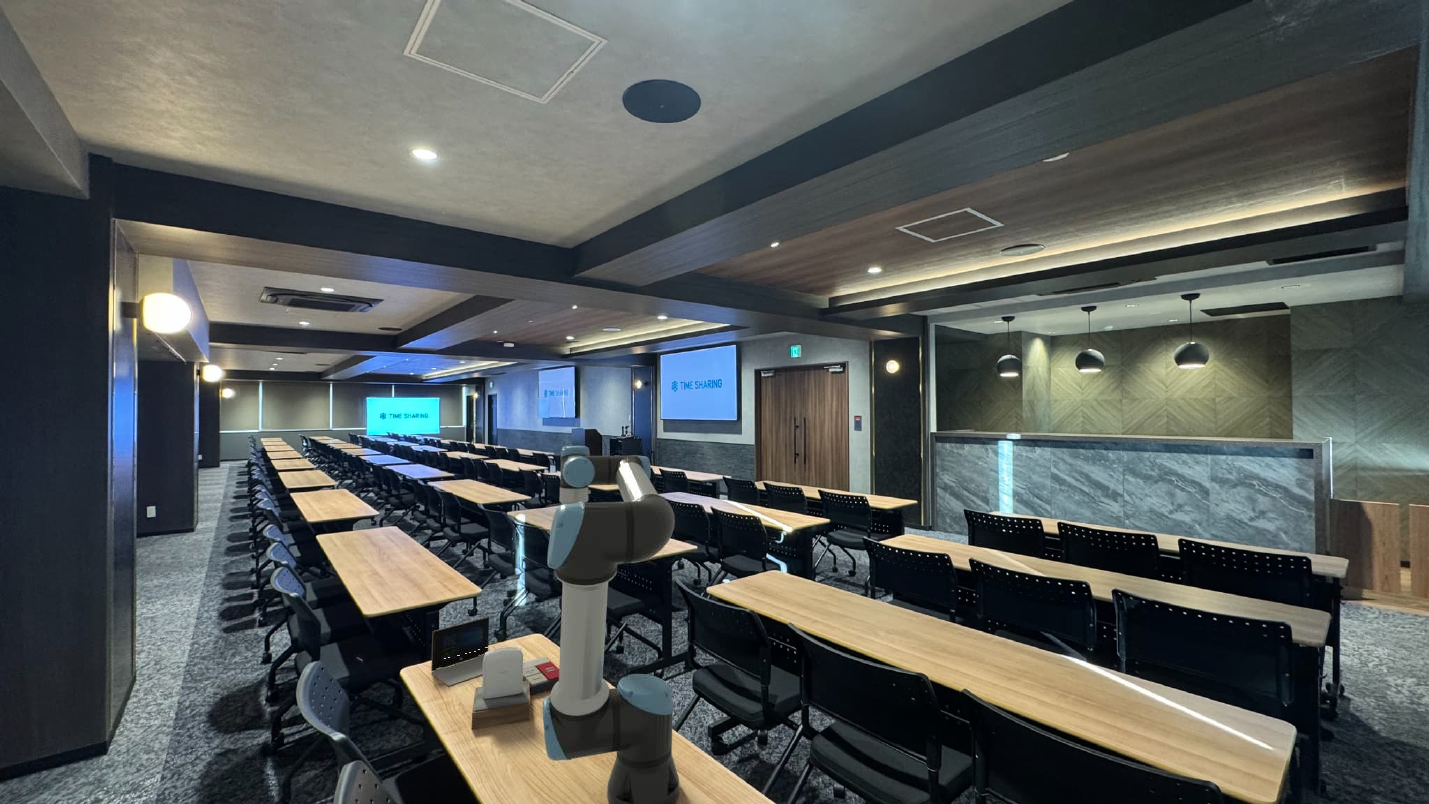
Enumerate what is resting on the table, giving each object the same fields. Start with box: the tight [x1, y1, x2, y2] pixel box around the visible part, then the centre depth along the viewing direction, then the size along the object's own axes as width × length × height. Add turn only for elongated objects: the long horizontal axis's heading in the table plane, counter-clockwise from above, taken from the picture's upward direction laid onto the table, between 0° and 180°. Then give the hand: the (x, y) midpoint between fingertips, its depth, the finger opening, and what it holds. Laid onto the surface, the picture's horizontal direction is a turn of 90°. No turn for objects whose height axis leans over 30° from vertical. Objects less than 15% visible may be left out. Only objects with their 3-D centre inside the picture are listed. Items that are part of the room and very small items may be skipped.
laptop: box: [430, 616, 490, 687], centre depth 174 cm, size 18×12×13 cm
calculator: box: [523, 656, 559, 697], centre depth 168 cm, size 11×4×15 cm
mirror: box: [471, 681, 531, 730], centre depth 151 cm, size 14×14×4 cm
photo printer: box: [481, 646, 524, 699], centre depth 151 cm, size 10×4×12 cm, turn 110°
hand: (572, 582), depth 151 cm, fingers open, 13 cm apart
